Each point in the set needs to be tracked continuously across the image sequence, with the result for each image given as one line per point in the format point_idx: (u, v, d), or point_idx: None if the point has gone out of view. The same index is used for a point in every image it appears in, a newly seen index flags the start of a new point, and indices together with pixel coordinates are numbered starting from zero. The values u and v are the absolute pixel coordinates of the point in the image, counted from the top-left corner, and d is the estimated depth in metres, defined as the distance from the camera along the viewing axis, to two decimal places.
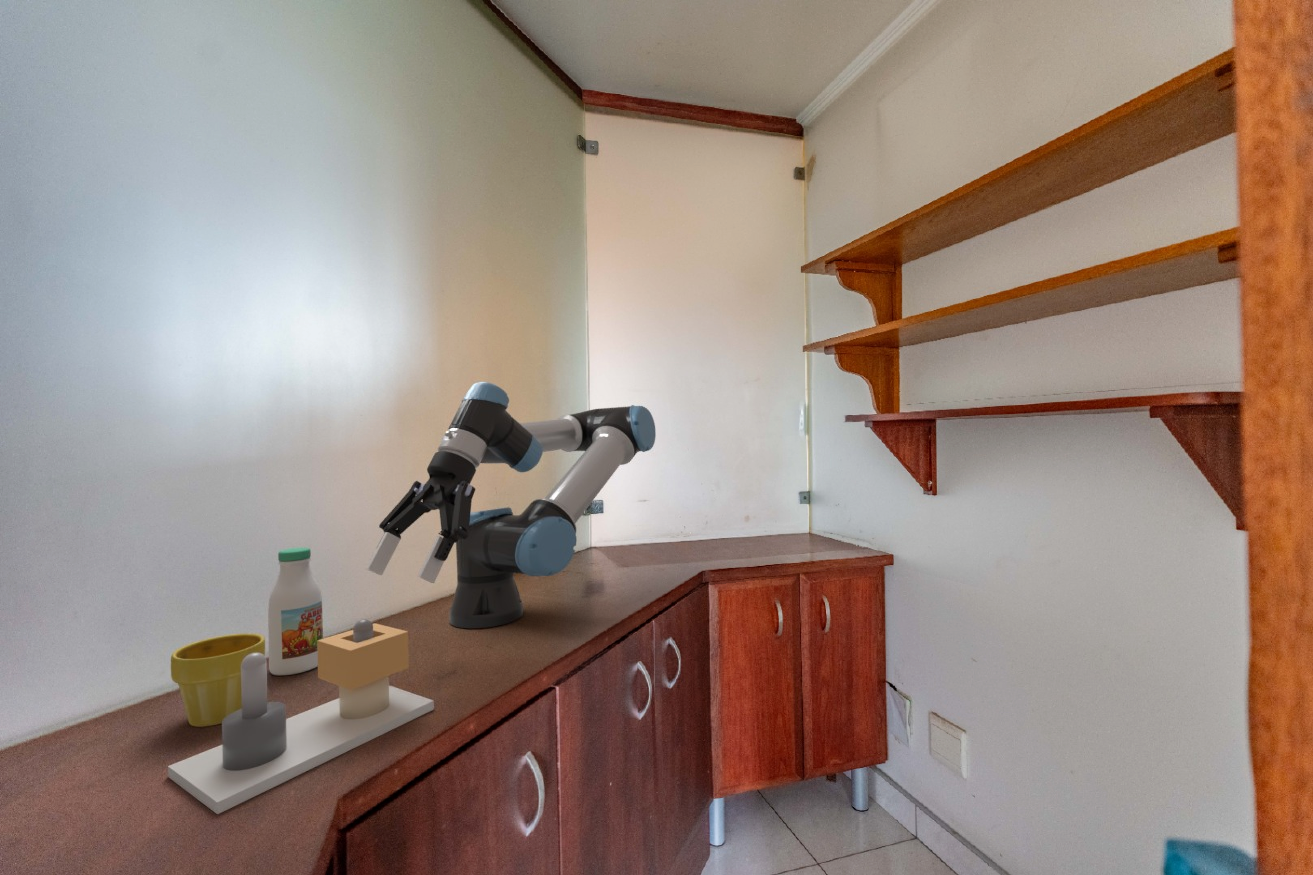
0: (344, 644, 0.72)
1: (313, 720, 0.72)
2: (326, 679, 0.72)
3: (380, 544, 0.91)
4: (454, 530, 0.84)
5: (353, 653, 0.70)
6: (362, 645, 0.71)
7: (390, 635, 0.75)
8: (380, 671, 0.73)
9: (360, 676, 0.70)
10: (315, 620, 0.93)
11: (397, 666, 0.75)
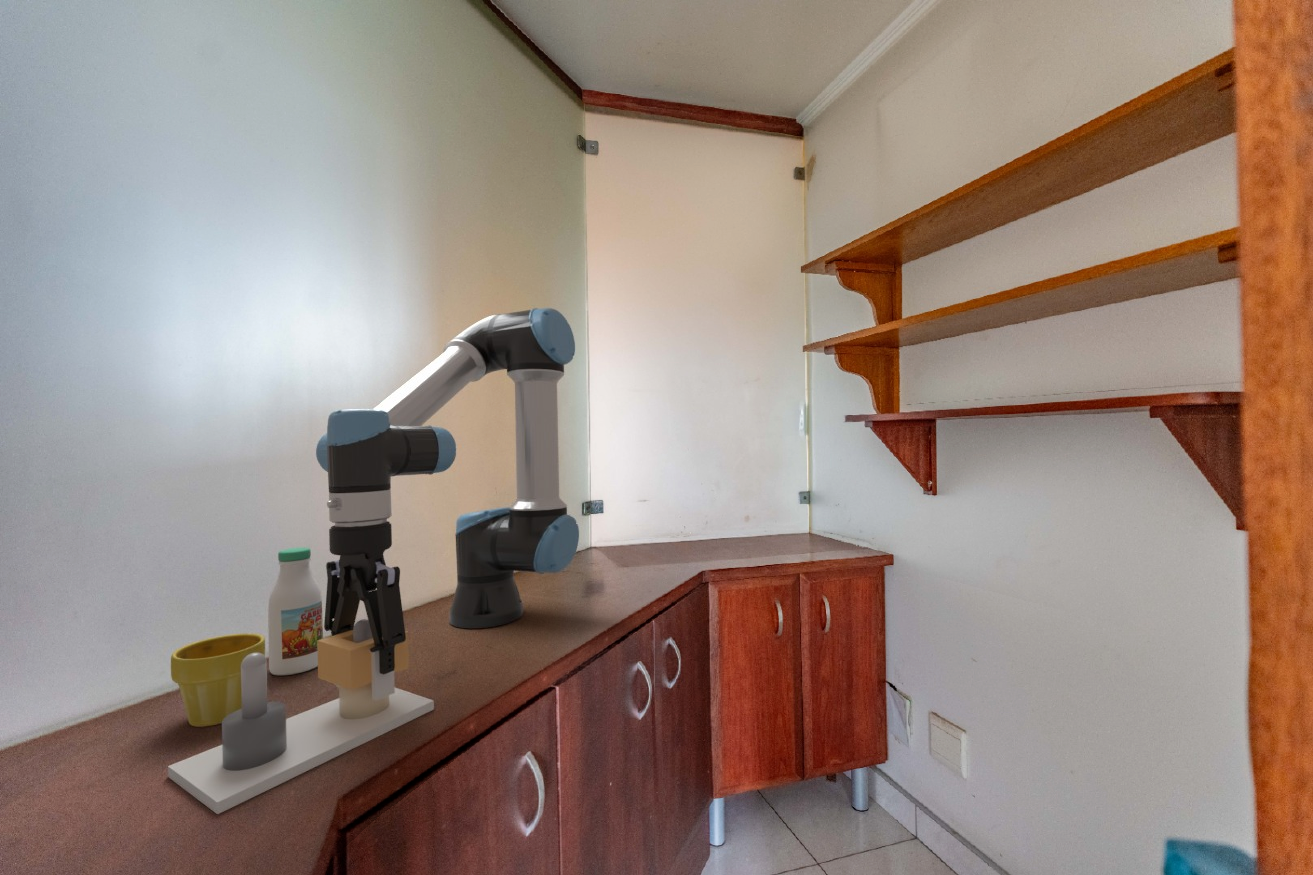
0: (344, 644, 0.72)
1: (313, 720, 0.72)
2: (326, 679, 0.73)
3: None
4: (386, 645, 0.70)
5: (353, 653, 0.70)
6: (362, 645, 0.71)
7: None
8: None
9: (360, 676, 0.70)
10: (315, 620, 0.93)
11: (397, 666, 0.75)
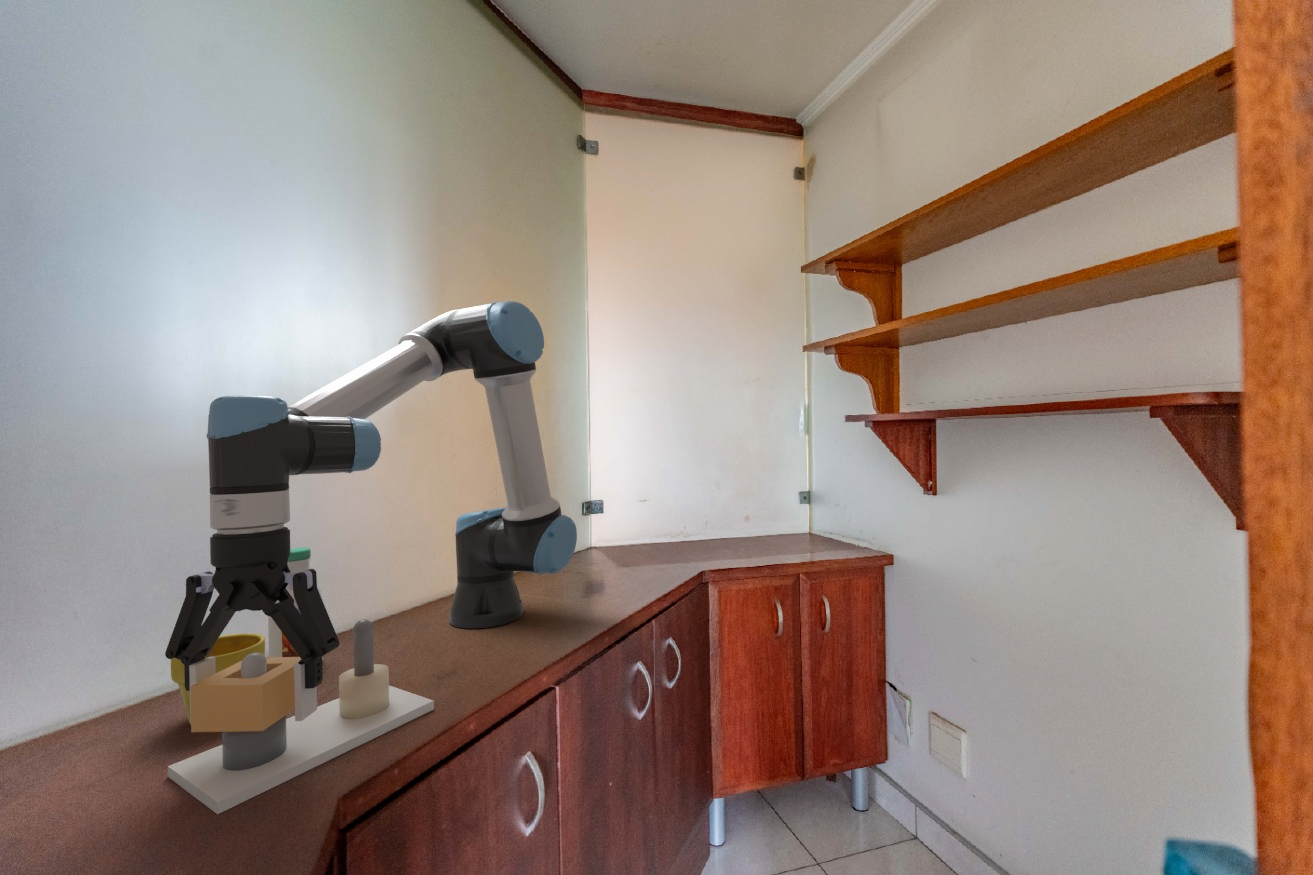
0: (241, 681, 0.61)
1: (313, 720, 0.72)
2: (210, 729, 0.60)
3: (193, 684, 0.63)
4: (322, 652, 0.62)
5: (264, 687, 0.60)
6: (270, 677, 0.62)
7: (292, 663, 0.66)
8: (287, 704, 0.64)
9: (270, 713, 0.61)
10: None
11: None
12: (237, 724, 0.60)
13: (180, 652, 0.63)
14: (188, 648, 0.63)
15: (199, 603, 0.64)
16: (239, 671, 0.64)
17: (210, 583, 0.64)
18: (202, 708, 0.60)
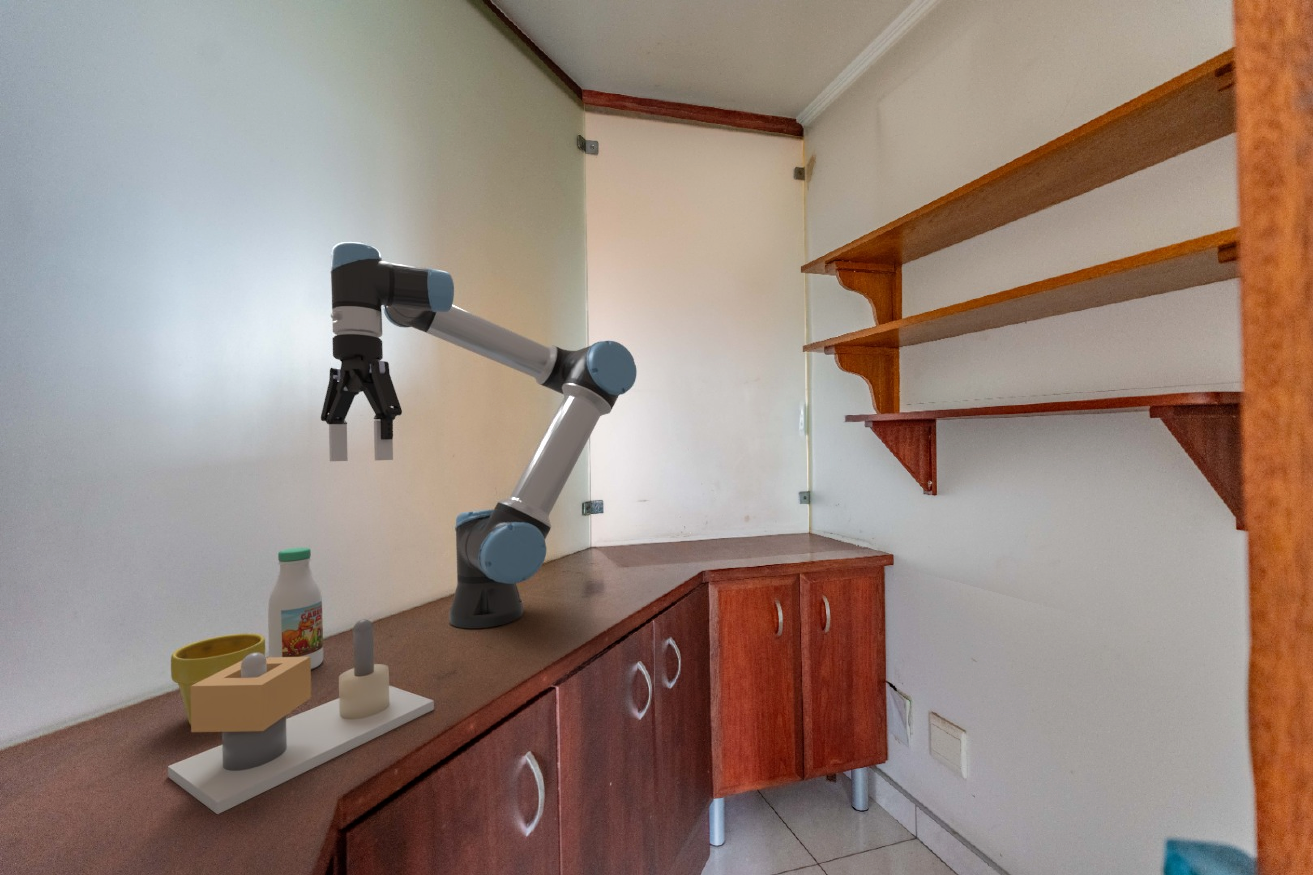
0: (241, 681, 0.61)
1: (313, 720, 0.72)
2: (210, 729, 0.60)
3: (330, 437, 0.96)
4: (386, 412, 0.88)
5: (264, 687, 0.60)
6: (270, 677, 0.62)
7: (292, 663, 0.66)
8: (287, 704, 0.64)
9: (270, 713, 0.61)
10: (315, 620, 0.93)
11: (302, 697, 0.66)
12: (237, 724, 0.60)
13: None
14: (329, 413, 0.97)
15: (336, 387, 0.97)
16: (239, 671, 0.64)
17: (340, 374, 0.96)
18: (202, 708, 0.60)
